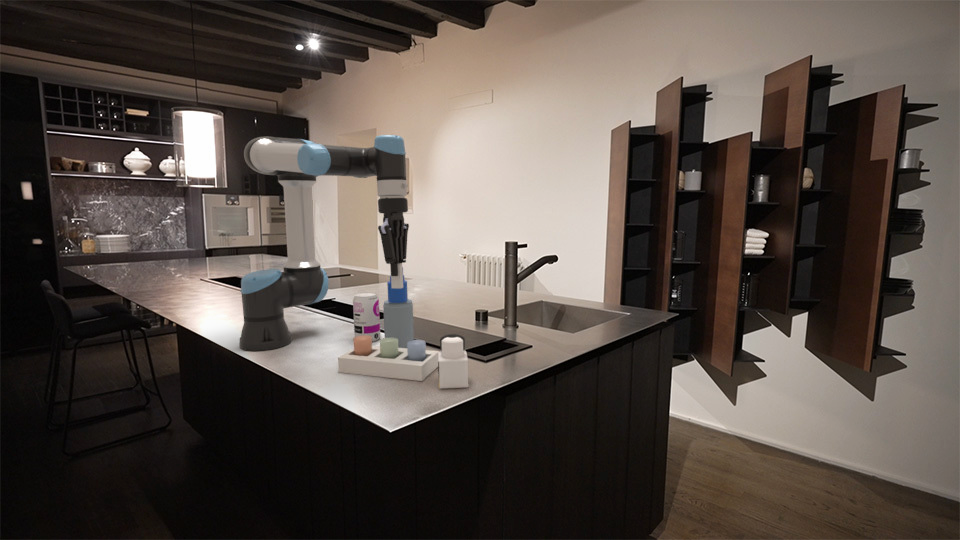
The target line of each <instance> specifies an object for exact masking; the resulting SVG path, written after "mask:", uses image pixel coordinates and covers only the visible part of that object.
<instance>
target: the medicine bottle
mask: <svg viewBox="0 0 960 540" xmlns="http://www.w3.org/2000/svg"><path fill="white" fill-rule="evenodd" d="M465 339H466V338H465V337H464V336H463V335H460V334H456V333H454V334H453V333H452V334H451V333H450V334H446V335H443V336H442V337H440V339H439V350H440V351H439V352H438V367H437V369H438V371H437V372H438V389H440V390H441V389H461V388H466V389H467V388H469V359H468V354H467V351H466V347H465V346H466V343H465V342H466V340H465Z"/></svg>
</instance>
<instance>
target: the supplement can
mask: <svg viewBox="0 0 960 540" xmlns="http://www.w3.org/2000/svg"><path fill="white" fill-rule="evenodd" d="M377 294H378V293H377V292H358V293H355V294H354V296H353V298H352V306H353V307H352V309H353V326H354V327H353V328H354V329H353V330H354V331H353V332H354V337H357V336H362V335H367V336H371V338H372V343H373V342H377V341H379V338H381V322H380V321H381V320H380V319H381V318H380V316H381V315H380V298H379V296H378V295H377Z"/></svg>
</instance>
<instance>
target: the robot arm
mask: <svg viewBox="0 0 960 540" xmlns="http://www.w3.org/2000/svg"><path fill="white" fill-rule="evenodd" d="M406 154H407V152H406V149H405V140H404V138H403V137H402V136H400V135H396V134H394V135H393V134H381V135H377V136H376V137H375V138H374V143H373V146H371V147H357V146H356V147H355V146H343V145H342V146H341V145H330V144H323V143H316V142H313V141H312V140H306V139H302V138H288V137H279V136H278V137H277V136H258V137H255V138H252V139H251V140H250V141H248V143H247V144H246V145H245V146H244V150H243V157H244V160H245V163H246V165H247V166H248V167H249V168H251V169H252V170H253V171H255V173H258V174H262V175H268V176H277V182H278V183H279V184H280V185H281V186H282V188H283V200H284V201H283V202H284V215H285V232H286V233H285V234H286V250H287V253H286V254H287V261H286V262H285V263H284V264H283V272H282V271H281V269H279V268H267V269H260V270H256V271H253V272H249V273H246V274H245V275H244V276H242V278H241V280H240V285H241V286H240V287H241V289H240V293H241V302H242V313H243V314H242V315H243V324H242V325H243V326H242V330H241V333H240V338H239V348H240V350H244V351H251V352H253V351H254V352H259V351H261V352H262V351H268V350H270V351H271V350H274V349H275V350H276V349H279V348H282V347H283V348H284V347H285V346H288V345H289V344H291V343H292V333H291V332H290V330H289V328H288V324H287V322H286V320H285V316H284V315H285V312H284V309H287V308H294V307H299V306H304V305H313V304H316V303H319V302H321V301H322V300H324V299H325V298H326V296H327V294H328V290H329V284H330V283H329V282H330V281H329V276H328V274H327V272H326V270H325V269H324V268H322V267H321V263H320V262H319V261H318V260H317V259H316V247H315V246H316V245H315V223H314V207H313V186H314V185H315V184H316V183H317V177H319V176H320V177H321V176H324V177H325V176H328V177H329V176H332V177H333V176H336V177H339V176H340V177H354V178H358V179H360V178H361V179H367V178H371V177H376V188H377V189H376V190H377V191H376V192H377V197H379V199H378V200H377V207H378V208H377V209H378V212H379V214H383V217H382V218H383V219H382V224H381V225H378V226H377V227H378V228H377V229H378V232H379V234H380V240H381V244H382V245H381V246H382V251H383V257H384V260H385V264H387V265H390V268H391V269H390V276H391V286H392V288H400V289H401V288H403V275H404V268H403V269H402V267H403V263H407V260H406V259H407V251H408V250H407V249H408V233H409V228H410V224H409V223H405V218H404V213H408V212H409V207H408V206H409V203H408V198H406V196H407V195H408V191H407V189H408V183H407V164H406V160H407V159H406Z"/></svg>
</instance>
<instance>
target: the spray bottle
mask: <svg viewBox="0 0 960 540" xmlns="http://www.w3.org/2000/svg"><path fill="white" fill-rule="evenodd" d="M402 269H403V270H404V266H402ZM390 270H391V268H390ZM386 284H387V285H386V286H387V299H386V300H384V301H383V328H384V330H383V331H384V338H397V339H398V348H407V342H408V341H411V340H415V336H414V332H415V331H414V308H413V307H414V303H413V300H412V299H410V298H409V299H408V280H405V275H404V274H403V288H401V289H400V288H392V286H391V275H389V280H388V281H387V282H386Z"/></svg>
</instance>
